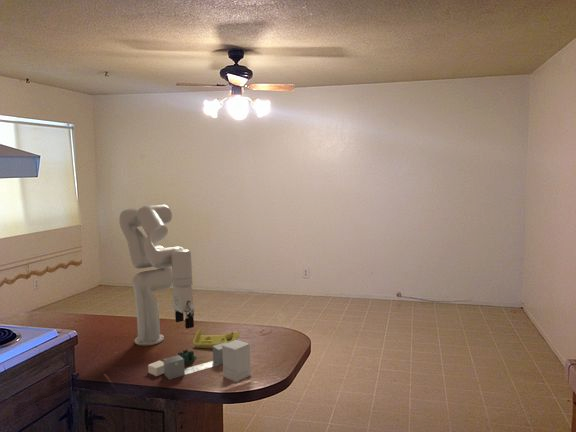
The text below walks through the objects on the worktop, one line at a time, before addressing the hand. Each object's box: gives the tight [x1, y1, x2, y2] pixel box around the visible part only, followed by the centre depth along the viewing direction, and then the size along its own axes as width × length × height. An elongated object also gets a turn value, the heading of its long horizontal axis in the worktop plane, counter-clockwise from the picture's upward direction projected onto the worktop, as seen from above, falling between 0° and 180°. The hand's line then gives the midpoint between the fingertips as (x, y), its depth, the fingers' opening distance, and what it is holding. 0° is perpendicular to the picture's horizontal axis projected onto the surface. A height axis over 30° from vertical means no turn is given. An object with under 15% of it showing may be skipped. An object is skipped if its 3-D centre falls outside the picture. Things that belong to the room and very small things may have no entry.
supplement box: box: [222, 339, 252, 384], centre depth 172 cm, size 7×7×13 cm
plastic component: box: [192, 329, 241, 349], centre depth 203 cm, size 20×7×10 cm
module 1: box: [162, 354, 186, 380], centre depth 174 cm, size 5×6×6 cm
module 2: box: [212, 343, 227, 366], centre depth 186 cm, size 5×6×6 cm
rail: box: [174, 360, 222, 379], centre depth 180 cm, size 5×26×1 cm, turn 125°
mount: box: [177, 349, 198, 367], centre depth 185 cm, size 11×4×5 cm, turn 150°
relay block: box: [147, 359, 164, 377], centre depth 177 cm, size 5×5×4 cm
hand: (184, 324), depth 184 cm, fingers open, 9 cm apart
